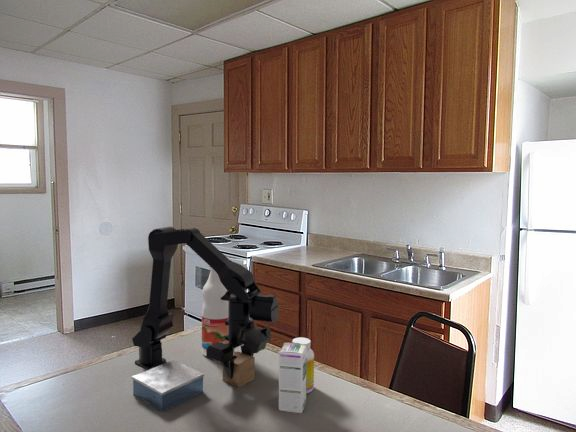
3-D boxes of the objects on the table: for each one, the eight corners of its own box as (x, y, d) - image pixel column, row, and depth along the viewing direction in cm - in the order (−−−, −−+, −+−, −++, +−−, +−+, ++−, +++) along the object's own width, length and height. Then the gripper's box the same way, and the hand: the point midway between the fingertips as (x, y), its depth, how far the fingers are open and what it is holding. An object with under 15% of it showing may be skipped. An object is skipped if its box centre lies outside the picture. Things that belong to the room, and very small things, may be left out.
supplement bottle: (317, 386, 111) (318, 338, 110) (307, 397, 105) (309, 347, 104) (294, 380, 114) (295, 334, 113) (283, 391, 108) (284, 342, 107)
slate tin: (132, 395, 105) (131, 376, 105) (173, 377, 115) (173, 360, 114) (162, 413, 97) (161, 393, 97) (204, 392, 107) (204, 373, 107)
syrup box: (302, 414, 98) (304, 353, 97) (277, 410, 99) (278, 350, 98) (306, 401, 103) (307, 343, 102) (282, 398, 105) (283, 341, 103)
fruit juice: (239, 351, 132) (239, 262, 129) (216, 361, 124) (216, 267, 122) (218, 343, 138) (218, 258, 135) (195, 352, 130) (195, 263, 128)
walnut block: (222, 380, 113) (222, 358, 113) (237, 372, 118) (238, 351, 117) (239, 387, 110) (239, 364, 109) (254, 378, 115) (254, 357, 114)
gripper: (237, 334, 100) (237, 397, 102) (284, 314, 115) (283, 369, 117) (204, 324, 106) (204, 383, 108) (253, 306, 122) (252, 359, 123)
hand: (238, 373), depth 114 cm, fingers closed on walnut block, 6 cm apart
